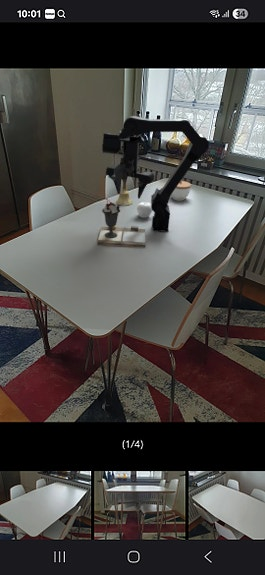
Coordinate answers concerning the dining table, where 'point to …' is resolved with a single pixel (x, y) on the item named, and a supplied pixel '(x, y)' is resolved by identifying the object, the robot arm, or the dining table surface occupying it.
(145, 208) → the plain white apple
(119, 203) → the hand bell
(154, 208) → the robot arm
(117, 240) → the board
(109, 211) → the sundae
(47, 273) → the dining table surface
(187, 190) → the lidded jar
